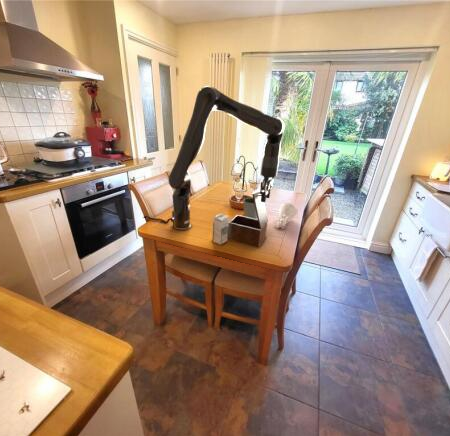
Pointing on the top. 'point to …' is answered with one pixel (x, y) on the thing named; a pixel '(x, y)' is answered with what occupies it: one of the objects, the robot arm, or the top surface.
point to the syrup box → (220, 228)
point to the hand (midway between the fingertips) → (265, 199)
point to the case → (246, 230)
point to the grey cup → (249, 208)
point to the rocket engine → (286, 214)
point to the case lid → (260, 209)
